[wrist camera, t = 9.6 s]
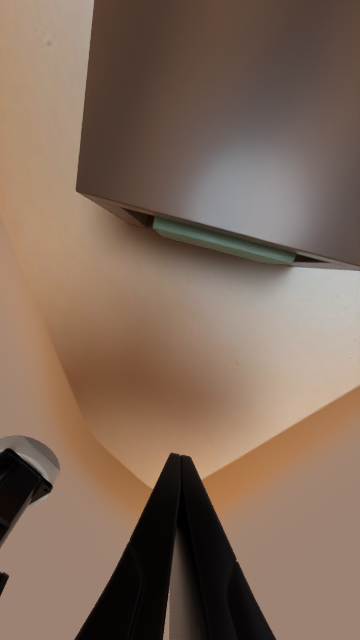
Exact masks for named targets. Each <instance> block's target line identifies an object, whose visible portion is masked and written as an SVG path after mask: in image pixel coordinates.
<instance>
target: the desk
mask: <svg viewBox="0 0 360 640" xmlns="http://www.w3.org/2000/svg"><path fill="white" fill-rule="evenodd" d="M76 191H77V192H78V193H80V194H81V195H83V196H84V197H86V198H88V199H90V200H91V201H93V202H95V203H96V204H98V205H99V206H101V207H103V208H104V209H106V210H107V211H109V212H110V213H112V214H114V215H115V216H117V217H118V218H120V219H122V220H123V221H125V222H126V223H129V224H133V225H136V226H140V227H144V228H146V227H147V222H148V217H149V215H153V216H156V217H160V218H164V219H168V220H171V221H175V222H179V223H183V224H187V225H190V226H194V227H198V228H202V229H205V230H209V231H213V232H217V233H221V234H224V235H228V236H232V237H236V238H239V239H243V240H247V241H251V242H255V243H258V244H262V245H266V246H270V247H273V248H277V249H281V250H285V251H288V252H292V253H296V256H295V259H294V262H293V264H291V265H289V266H293V267H305V268H321V269H338V270H354V271H360V0H94V10H93V20H92V30H91V40H90V51H89V61H88V71H87V81H86V91H85V102H84V112H83V122H82V132H81V142H80V152H79V163H78V173H77V183H76ZM285 265H287V264H285Z"/></svg>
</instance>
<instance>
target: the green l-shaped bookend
mask: <svg viewBox="0 0 360 640" xmlns="http://www.w3.org/2000/svg"><path fill="white" fill-rule="evenodd" d="M153 229H155V230H156V231H157V232H158V233H159V234H160V235H161V236H162V237H166V238H168V239H172V240H178V241H181V242H185V243H189V244H193V245H197V246H200V247H204V248H208V249H212V250H216V251H220V252H223V253H227V254H231V255H235V256H239V257H243V258H245V259H249V260H252V261H258V262H262V263H265V264H287V265H291V264H293V262H294V259H295V256H296V253H292V252H288V251H285V250H281V249H277V248H273V247H270V246H266V245H262V244H258V243H255V242H251V241H247V240H243V239H239V238H236V237H232V236H228V235H224V234H221V233H217V232H213V231H209V230H205V229H202V228H198V227H194V226H190V225H187V224H183V223H179V222H175V221H171V220H168V219H164V218H160V217H156V216H155V217H154V222H153Z"/></svg>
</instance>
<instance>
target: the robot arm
mask: <svg viewBox="0 0 360 640" xmlns="http://www.w3.org/2000/svg"><path fill="white" fill-rule="evenodd" d="M52 489H53V485H52V484H51V483H50V482H49V481H47V480H46V479H45V478H44V477H43V476H42V475H41V474H40V473H38V472H37V471H36V470H35V469H34V468H33V467H32V466H31V465H29V464H28V463H27V462H26V461H25V460H24V459H23V458H21V457H20V456H19V455H18V454H17V453H16V452H15V451H14V450H12V449H10V448H6V449H5V450H3V451H2V452H0V548H1V547H2V545H3V543H4V542H5V540H6V539H7V537H8V536H9V534H10V533H11V531H12V530H13V528H14V526H15V525H16V523H17V522H18V520H19V519H20V517H21V516H22V514H23V513H24V511H25V509H26V508H27V506H28V505H30V504H32V503H33V502H35V501H37V500H39V499H40V498H42V497H44V496H45V495H47V494H49V493H50V492H51V490H52ZM8 578H9V575H8V574H6V573H5V572H3V573H1V572H0V596H1V593H2V591H3V589H4V587H5V585H6V582H7V580H8ZM169 585H170V620H169V623H170V624H169V629H170V630H169V640H276V638H275V636H274V634H273V633H272V631H271V629H270V627H269V625H268V623H267V621H266V619H265V617H264V615H263V613H262V612H261V610H260V608H259V606H258V604H257V602H256V600H255V598H254V595H253V593H252V591H251V589H250V587H249V585H248V583H247V581H246V579H245V577H244V574H243V572H242V570H241V567H240V565H239V563H238V562H236V557H235V554H234V552H233V550H232V548H231V545H230V543H229V541H228V539H227V537H226V534H225V532H224V530H223V528H222V525H221V523H220V521H219V519H218V516H217V514H216V512H215V510H214V508H213V505H212V503H211V501H210V499H209V497H208V494H207V492H206V490H205V488H204V485H203V483H202V481H201V479H200V476H199V474H198V472H197V470H196V468H195V465H194V463H193V461H192V459H191V457H190V456H185V455H181V456H180V455H179V454H175V453H170V455H169V457H168V459H167V461H166V463H165V466H164V468H163V470H162V472H161V474H160V476H159V478H158V480H157V483H156V485H155V487H154V489H153V491H152V493H151V495H150V497H149V500H148V502H147V504H146V506H145V508H144V510H143V512H142V514H141V517H140V519H139V521H138V523H137V525H136V527H135V529H134V532H133V534H132V536H131V538H130V541H129V542H128V544H127V546H126V548H125V550H124V552H123V554H122V557H121V559H120V561H119V563H118V565H117V567H116V569H115V570H114V572H113V574H112V576H111V578H110V580H109V582H108V584H107V585H106V587H105V589H104V591H103V593H102V594H101V596H100V598H99V599H98V601H97V603H96V604H95V607H94V608H93V609H92V611H91V613H90V614H89V616H88V618H87V619H86V621H85V623H84V624H83V626H82V628H81V629H80V631H79V633H78V635H77V636H76V638H75V639H74V640H163V633H164V625H165V617H166V608H167V601H168V593H169Z"/></svg>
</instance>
